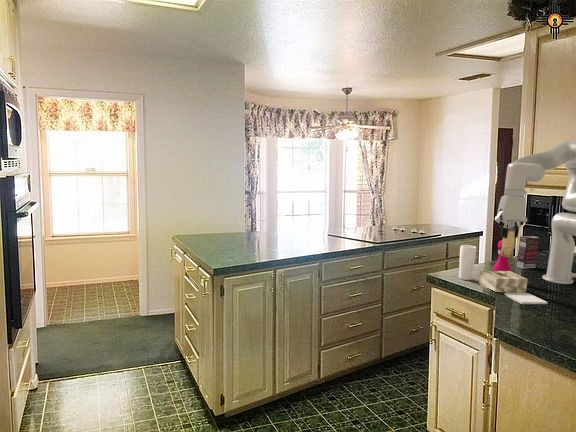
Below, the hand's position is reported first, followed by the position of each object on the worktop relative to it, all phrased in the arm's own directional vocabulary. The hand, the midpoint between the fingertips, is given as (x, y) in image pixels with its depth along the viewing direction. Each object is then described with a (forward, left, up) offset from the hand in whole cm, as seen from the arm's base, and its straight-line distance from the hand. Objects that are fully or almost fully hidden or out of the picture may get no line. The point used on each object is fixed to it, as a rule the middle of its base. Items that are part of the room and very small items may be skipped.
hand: (508, 236), depth 197 cm
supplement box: (-38, -37, -23) cm, 57 cm away
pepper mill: (-8, -13, -23) cm, 27 cm away
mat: (-1, +14, -22) cm, 27 cm away
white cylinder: (+9, -14, -23) cm, 28 cm away
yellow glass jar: (0, 0, -8) cm, 8 cm away
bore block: (0, 0, -22) cm, 22 cm away
